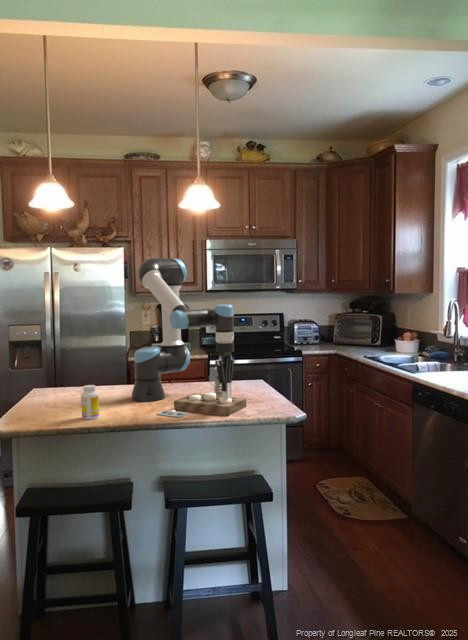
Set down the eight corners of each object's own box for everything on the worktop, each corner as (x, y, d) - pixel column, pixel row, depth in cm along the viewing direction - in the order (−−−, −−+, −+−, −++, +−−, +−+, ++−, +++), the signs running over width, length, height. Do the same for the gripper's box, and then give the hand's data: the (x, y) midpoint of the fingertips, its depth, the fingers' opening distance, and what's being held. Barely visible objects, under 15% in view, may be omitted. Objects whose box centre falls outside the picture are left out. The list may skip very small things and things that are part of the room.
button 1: (187, 404, 219) (187, 396, 219) (193, 401, 223) (193, 394, 223) (197, 405, 217) (197, 397, 216) (203, 402, 221) (203, 395, 221)
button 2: (202, 401, 215) (202, 394, 215) (208, 399, 220) (208, 392, 219) (212, 403, 213) (212, 395, 213) (218, 400, 217) (218, 393, 217)
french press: (229, 400, 229) (228, 345, 227) (205, 399, 233) (204, 344, 231) (236, 396, 238) (236, 342, 237) (213, 394, 242) (212, 342, 240)
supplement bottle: (100, 415, 207) (99, 384, 206) (97, 419, 201) (95, 387, 200) (84, 416, 207) (83, 384, 206) (79, 420, 200) (78, 387, 199)
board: (174, 409, 215) (173, 400, 215) (194, 401, 230) (194, 393, 229) (228, 415, 204) (228, 406, 203) (246, 406, 218) (246, 398, 217)
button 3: (217, 407, 212) (217, 399, 212) (223, 404, 216) (223, 397, 216) (228, 408, 210) (228, 400, 209) (234, 405, 214) (234, 398, 214)
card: (156, 414, 207) (156, 411, 207) (166, 410, 213) (166, 407, 213) (179, 417, 202) (179, 413, 202) (188, 413, 208) (188, 409, 208)
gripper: (225, 344, 204) (226, 402, 205) (240, 340, 215) (241, 396, 217) (209, 343, 207) (210, 401, 209) (224, 340, 219) (225, 394, 220)
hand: (226, 398), depth 213 cm, fingers closed
